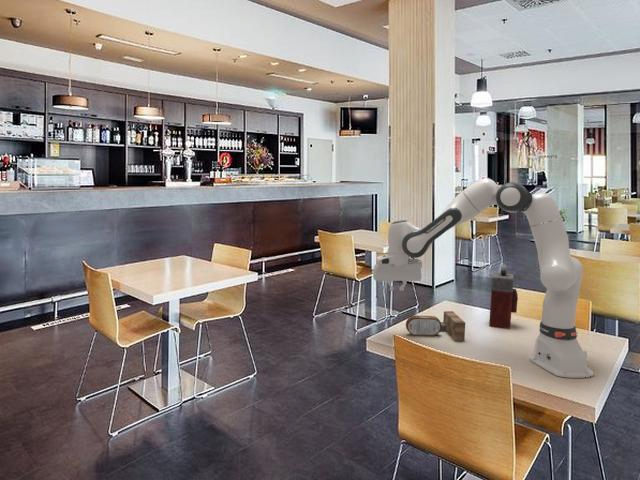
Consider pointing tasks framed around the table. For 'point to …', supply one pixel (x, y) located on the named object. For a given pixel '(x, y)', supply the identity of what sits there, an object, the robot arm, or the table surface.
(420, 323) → the tin
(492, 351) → the table surface
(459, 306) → the table surface
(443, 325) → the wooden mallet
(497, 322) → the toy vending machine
